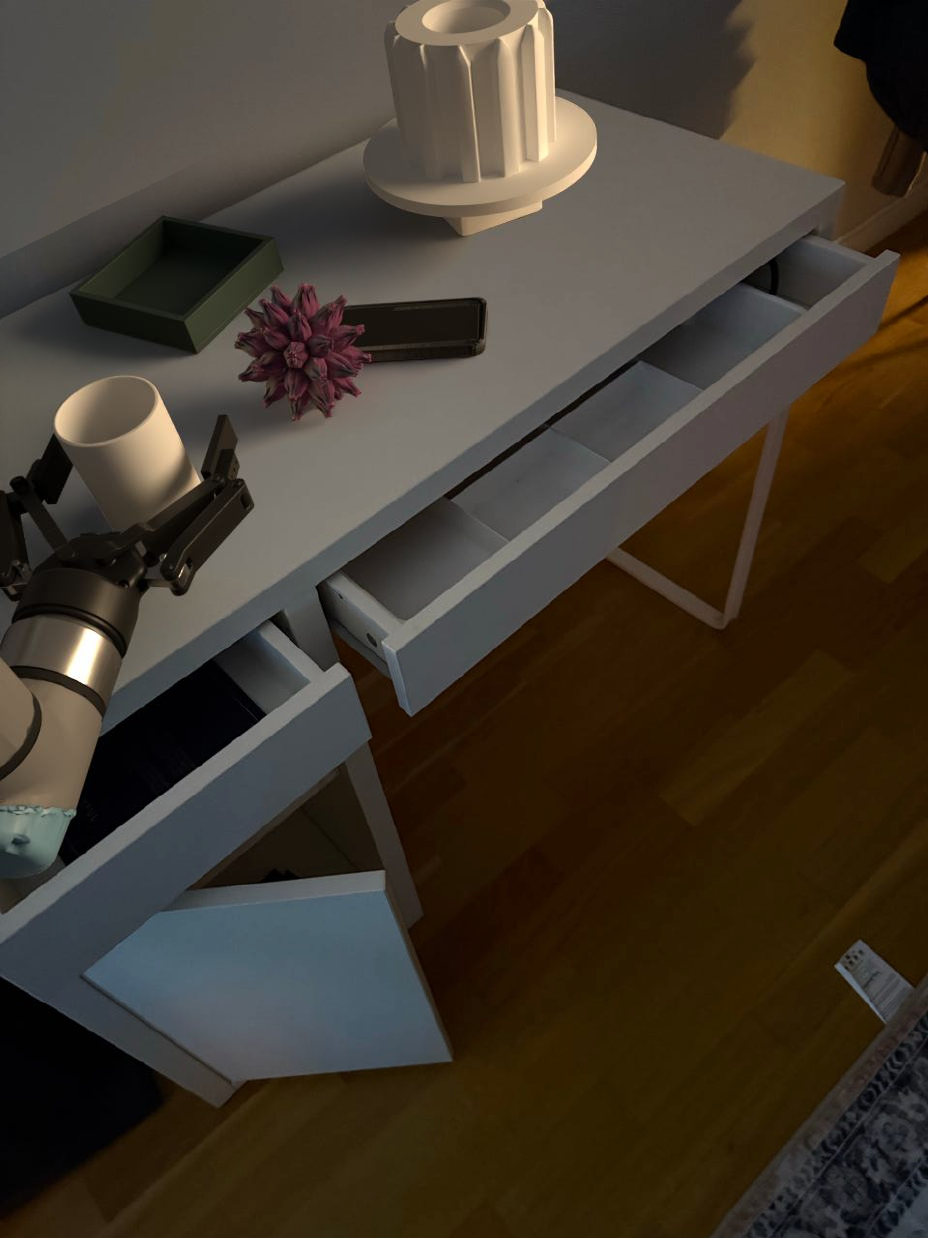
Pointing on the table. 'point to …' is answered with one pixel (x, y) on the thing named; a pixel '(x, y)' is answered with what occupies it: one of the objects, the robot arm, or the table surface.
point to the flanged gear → (476, 115)
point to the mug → (124, 449)
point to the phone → (419, 328)
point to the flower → (302, 351)
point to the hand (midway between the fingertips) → (148, 431)
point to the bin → (178, 283)
